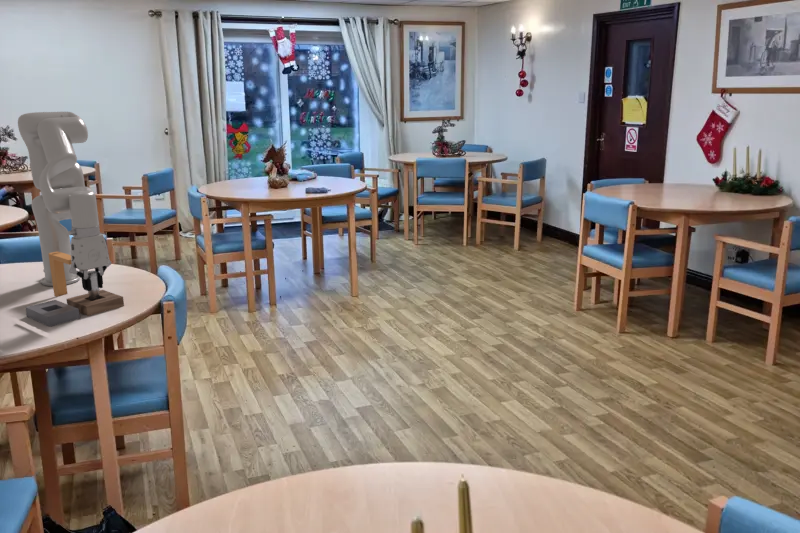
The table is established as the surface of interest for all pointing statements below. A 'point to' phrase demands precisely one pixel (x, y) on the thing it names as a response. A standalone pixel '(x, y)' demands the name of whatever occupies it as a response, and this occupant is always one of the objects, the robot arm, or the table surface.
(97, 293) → the grey metal rod
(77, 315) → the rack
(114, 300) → the socket block
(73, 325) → the table surface
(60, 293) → the orange angle bracket
